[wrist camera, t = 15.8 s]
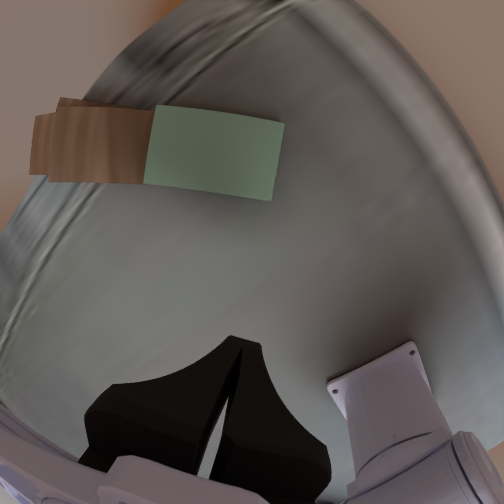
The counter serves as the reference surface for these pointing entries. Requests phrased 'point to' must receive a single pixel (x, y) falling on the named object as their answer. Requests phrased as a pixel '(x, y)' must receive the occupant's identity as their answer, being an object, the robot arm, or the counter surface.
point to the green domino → (213, 152)
